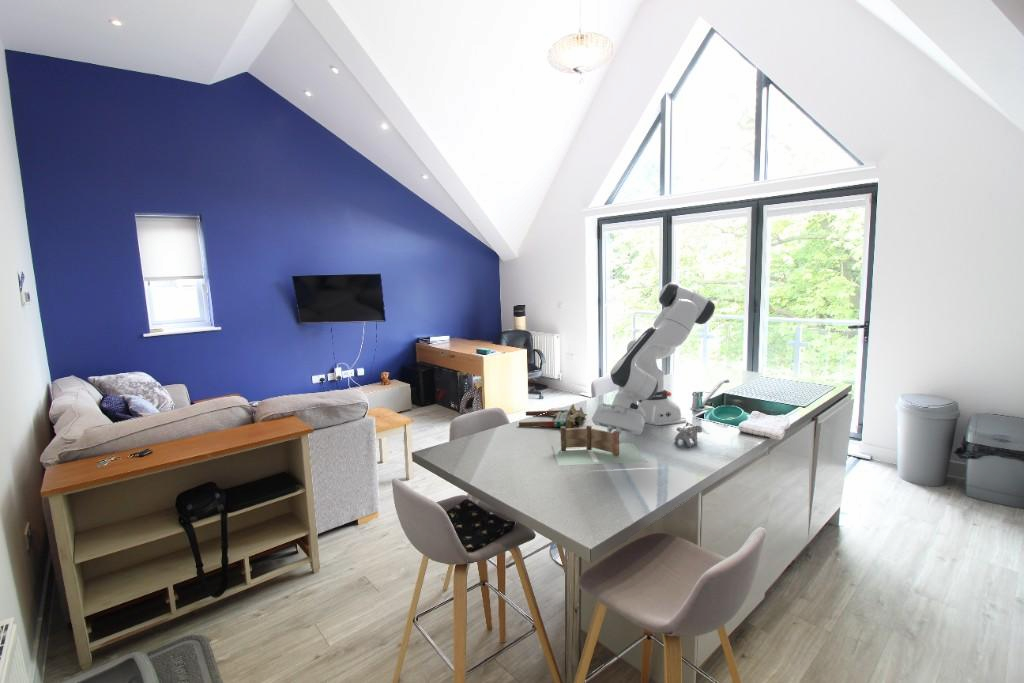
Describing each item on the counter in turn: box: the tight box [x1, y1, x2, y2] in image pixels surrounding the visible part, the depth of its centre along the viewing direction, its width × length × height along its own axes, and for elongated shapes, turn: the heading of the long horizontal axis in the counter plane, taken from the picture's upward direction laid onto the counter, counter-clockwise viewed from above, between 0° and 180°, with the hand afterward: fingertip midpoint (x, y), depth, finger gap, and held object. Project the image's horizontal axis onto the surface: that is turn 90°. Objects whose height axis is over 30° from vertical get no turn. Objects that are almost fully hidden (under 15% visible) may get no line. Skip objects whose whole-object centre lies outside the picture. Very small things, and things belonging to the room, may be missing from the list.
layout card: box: [554, 442, 648, 467], centre depth 183 cm, size 32×20×1 cm, turn 92°
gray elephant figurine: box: [674, 421, 703, 448], centre depth 193 cm, size 9×12×8 cm
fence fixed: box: [560, 425, 593, 451], centre depth 187 cm, size 12×2×9 cm, turn 92°
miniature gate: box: [518, 403, 588, 429], centre depth 226 cm, size 27×6×30 cm
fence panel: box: [591, 428, 620, 456], centre depth 182 cm, size 11×2×9 cm, turn 48°
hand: (610, 438), depth 182 cm, fingers closed, pressing on fence panel
